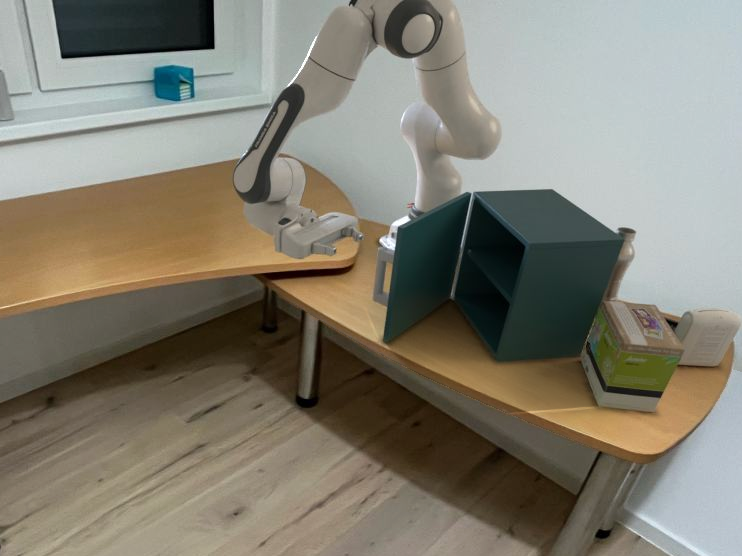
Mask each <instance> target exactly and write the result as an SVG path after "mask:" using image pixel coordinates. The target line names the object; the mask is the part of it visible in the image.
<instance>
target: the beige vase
mask: <svg viewBox="0 0 742 556" xmlns="http://www.w3.org/2000/svg"><path fill="white" fill-rule="evenodd" d="M615 233H616V234H618V235H619V236H621V237H622V238H624V239H625V241H624V243H623V246H622V249H621V251H620V254H619V256H618V259H617V262H616V264H615V267H614V270H613V272H612V275H611V277H610V280H609V283H608V285H607V288H606V290H605V293H604V296H603V298H602V301H603V300H604V301H612V302H618V296H619V291H620V288H621V285H622V281H623V279H624V277H625V275H626V273H627V271H628V269H629V268H630V266H631V264H632V262H633V260H634V258H635V255H636V254H635V253H636V252H635V248H634V245H633V242H634V241H635V239H636V238H635V237H636V235H637V231H636V230H635V229H633V228H630V227H625V226H623V227H622V226H621V227H620V226H619V227H618V228H617V229H616V231H615ZM602 301H601V302H602ZM600 305H601V304H600ZM599 307H600V306H599ZM598 310H599V309H598ZM597 313H598V311H597Z"/></svg>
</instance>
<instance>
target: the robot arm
mask: <svg viewBox="0 0 742 556" xmlns="http://www.w3.org/2000/svg"><path fill="white" fill-rule="evenodd" d="M379 46H380V47H382V48H383V49H385V50H387V51H388V52H389V53H390V54H392V55H393V56H395V57H398V58H401V59H409V60H412V65H413V66H412V67H413V71H414V77H415V78H414V79H415V82H416V88H417V93H418V95H419V97H420V99H421V100H422V101H415V102H413V103H411V104H410V105H409V106H408V107H406V109H405V110H404V112H403V114H402V116H401V120H400V125H399V126H400V128H399V129H400V135H401V137H402V138H403V140H404V142H405V143H406V144H407V145H408V147H409V149H410V150H411V153H412V156H413V159H414V162H415V167H416V176H417V178H416V179H417V180H416V190H415V198H414V202H411V203H407V207H406V208H407V209H410V210H409V212H408V214H407V215H405V216H403V217H401V218H398V219H396V220H394V222H392V224H391V225H390V227H389V232H388V234H385V235H382V236H381V237H380V239H379V244H380V245H381V246H382V247H386V248H389V249H392V250H395V244H396V237H397V229H398V226H400V225H402V224H404V223H406V222H408V221H410V220H412V219H414V218H416V217H418V216H420V215H422V214H424V213H426V212H428V211H430V210H432V209H434V208H436V207H438V206H440V205H442V204H444V203H446V202H448V201H450V200H452V199H454V198H455V197H457V196H459V195H461V194H462V188H463V177H462V175H461V173H460V172H459V171H458V169H457V168H455V166H454V165H453V163H452V160H451V157H453V158H458V159H461V160H467V161H483V160H484V161H485V160H487V159H488V158H490V157H491V156H492V155H493V154H494V153H495V152H496V150H497V149H498V147H499V145H500V143H501V140H502V136H503V135H502V134H503V131H502V129H503V128H502V124H501V122H500V120H499V119H498V118H497V117H496V116H495V115H493V114H492V113H491V112H490V111H489V110H488V109H487V108H486V107H485V105H484V104H483V102H482V101H481V100H480V98H479V96H478V94H477V93H476V90H475V88H474V87H473V84H472V82H471V78H470V73H469V66H468V58H467V50H466V49H467V47H466V40H465V33H464V29H463V25H462V20H461V17H460V14H459V11H458V8H457V5H456V4H455V3H454V2H453V1H452V0H349V2H348V5H340V6H337V7H335V8H334V9H333V10H331V12H330V13H329V15H328V16H327V17H326V19H325V21H324V22H323V24H322V26H321V27H320V29H319V30H318V32H317V34H316V36H315V38H314V39H313V42H312V44H311V46H310V49H309V51H308V53H307V55H306V57H305V60H304V62H303V63H302V65H301V68H300V69H299V71H298V72H297V74H296V75H295V77H294V78H293V79H292V80H291V81H290V83H289V84H288V85H287V86H286V87H284V89H283V90H282V91H280V93H279V95H278V96H277V97H276V99H275V101H274V102H273V104H272V106H271V108H270V109H269V111H268V113H267V115H266V117H265V118H264V120H263V122H262V124H261V126H260V128H259V130H258V131H257V133H256V135H255V137H254V139H253V141H252V142H251V144H250V146H249V147H248V149H246V151H245V153H244V154H243V155H242V156H241V157H240V158H239V159H238V161H237V163H236V165H235V167H234V169H233V172H232V184H233V189H234V191H235V192H236V194H237V196H238V197H239V198H240V199H241V200H242V201H243V202H244V203H243V215H244V218H245V220H246V221H247V223H248V224H249V225H250V226H251V227H252V228H254V229H256V230H258V231H259V232H261V233H263V234H265V235H267V236H270V237H273V246H274V251H275V252H276V253H280V254H283V255H285V256H287V257H289V258H292V259H296V260H304V259H306V258H308V257H310V256H312V255H320V256H321V255H324V256H325V255H326V256H329V257H333V256H335V255H336V254H337V247H336V246H335V244H337V243H339V242H341V241H342V240H345V239H347V238H352V241H353V242H356V243H360V242H362V241H364V238H365V234H364V233H363V232H361V231H358V227H359V220H358V218H357V216H353V215H350V214H346V213H342V212H338V211H337V212H336V211H331V212H328V213H325V214H323V215H321V216H318V214H317V212H315V210H313V209H311V208H308V207H305V206H303V205H301V203H302V200H303V196H304V193H305V190H306V186H307V173H306V170H305V168H304V166H303V164H302V163H301V162H300V161H299V160H298V159H296V158H293V157H279V156H280V154H281V152H282V150H283V149H284V147H285V145H286V143H287V141H288V139H289V138H290V136H291V134H292V133H293V132H294V131H295V129H297V128H298V127H299V126H300V125H302V124H303V123H305V122H307V121H309V120H311V119H313V118H316V117H319V116H323V115H326V114H330V113H332V112H334V111H336V110H337V109H338V108H340V107H341V106H342V105H343V103H344V102H345V101H346V100H347V98H348V97H349V96H350V93H351V91H352V90H353V88H354V85H355V83H356V81H357V78H358V77H359V74H360V72H361V70H362V68H363V65H364V63H365V61H366V59H367V58H368V56H369V55H370V54H371V53H372V52H373V51H375V50H376V49H377V48H378V47H379Z"/></svg>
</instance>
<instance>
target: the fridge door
mask: <svg viewBox="0 0 742 556" xmlns="http://www.w3.org/2000/svg"><path fill="white" fill-rule="evenodd" d="M472 195H473V192H469V191H465V192H464V193H461V194H460V195H459V196H457V197H455V198H454V199H452V200H450V201H448V202H446V203H444V204H442V205H440V206H438V207H436V208H434V209H432V210H430V211H428V212H426V213H424V214H422V215H420V216H418V217H416V218H414V219H412V220H410V221H408V222H406V223H404V224H402V225H400V226H398V229H397V237H396V244H395V250H392V249H389V248H386V247H384V246H379V247H378V248H377V255H376V266H375V273H374V282H373V291H372V301H373V302H375V303H377V304H380V305H381V306H384V307H385V308H386V313H385V321H384V327H383V328H384V329H383V335H382V336H383V337H382V342H384V343H389V342H391V341H392V340H394V339H395V338H396V337H398V336H399V335H400V334H402V333H403V332H405V331H406V330H407V329H409V328H410V327H412V326H413V325H414V324H417V322H419V321H420V320H422V319H423V318H425V317H426V316H428V315H429V314H431V312H433V311H434V310H436V309H437V308H439V307H440V306H441V305H443V304H445V303H446V302H447V301H448V300H450V299H451V298H452V293H453V288H454V283H455V279H456V274H457V269H458V264H459V259H460V254H461V249H462V244H463V239H464V234H465V230H466V225H467V220H468V215H469V210H470V205H471V200H472ZM387 263H388V264H390V265H392V267H391V274H390V282H389V283H390V284H389V291H388V292H386V291H384V287H385V277H386V270H387V269H386V268H387Z"/></svg>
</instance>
